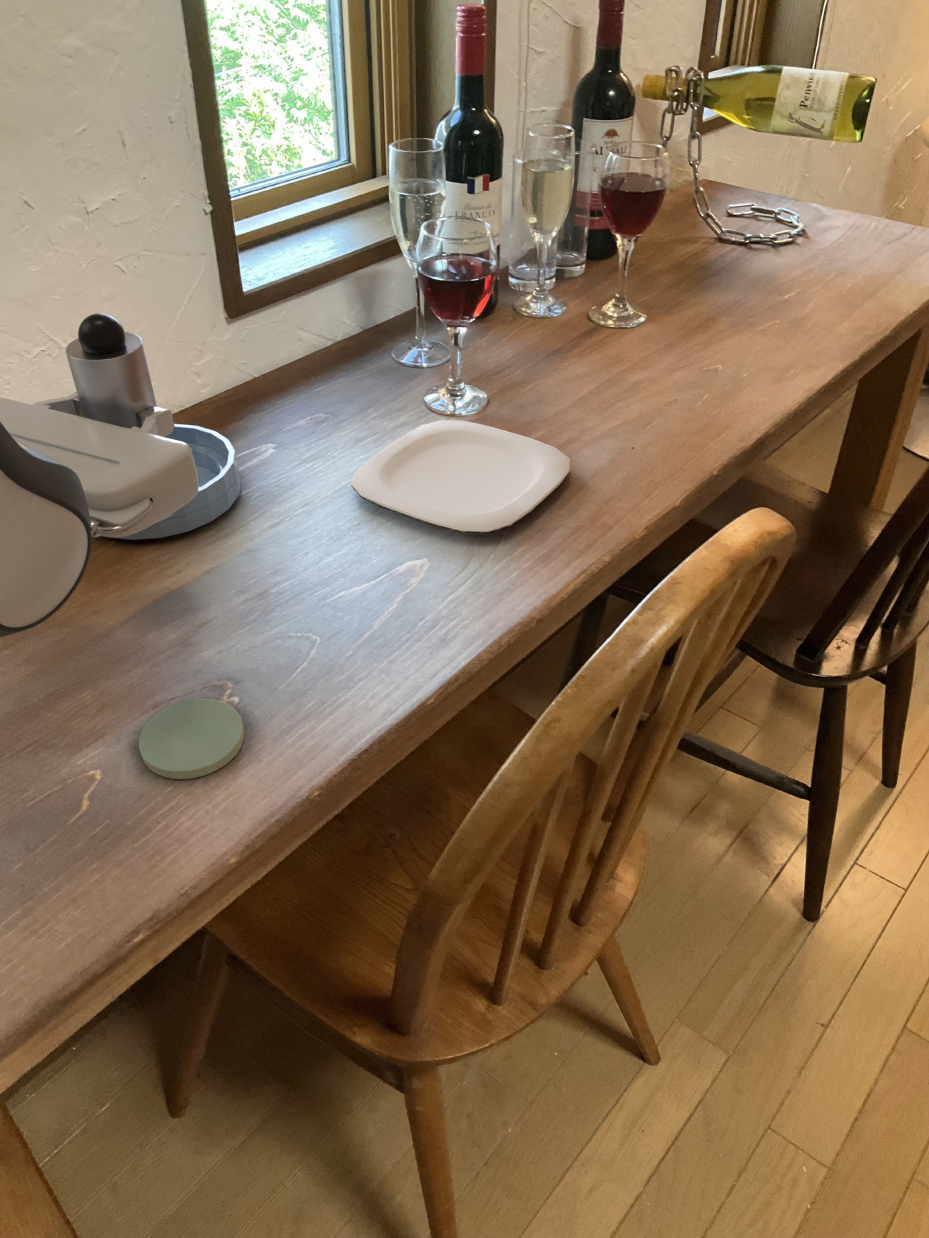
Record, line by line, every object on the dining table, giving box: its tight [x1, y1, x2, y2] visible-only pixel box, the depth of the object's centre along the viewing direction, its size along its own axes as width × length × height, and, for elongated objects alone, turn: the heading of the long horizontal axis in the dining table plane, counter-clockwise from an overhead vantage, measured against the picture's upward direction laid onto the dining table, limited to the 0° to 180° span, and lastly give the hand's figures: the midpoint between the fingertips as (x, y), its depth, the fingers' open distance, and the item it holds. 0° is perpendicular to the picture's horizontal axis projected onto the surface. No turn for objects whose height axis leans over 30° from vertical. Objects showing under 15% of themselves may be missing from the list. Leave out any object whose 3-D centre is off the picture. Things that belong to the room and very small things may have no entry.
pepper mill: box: [65, 312, 174, 522], centre depth 68 cm, size 5×5×15 cm
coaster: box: [138, 697, 245, 780], centre depth 66 cm, size 7×7×1 cm
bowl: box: [110, 423, 242, 541], centre depth 90 cm, size 15×15×4 cm
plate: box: [350, 419, 571, 535], centre depth 92 cm, size 18×18×2 cm
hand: (128, 408), depth 69 cm, fingers closed on pepper mill, 5 cm apart
